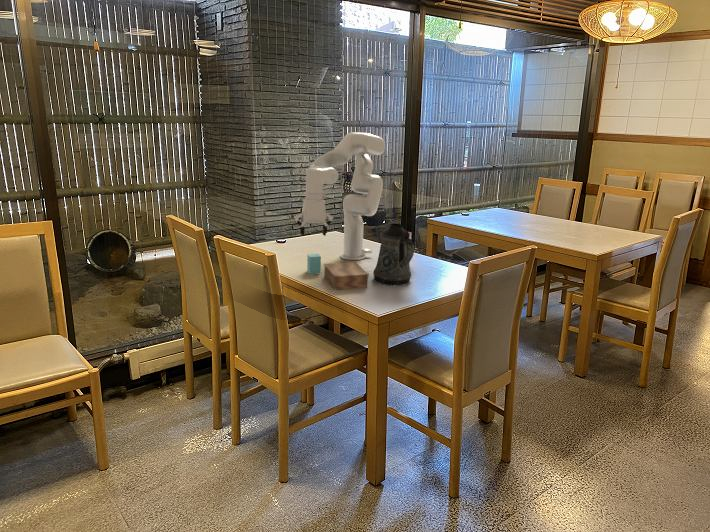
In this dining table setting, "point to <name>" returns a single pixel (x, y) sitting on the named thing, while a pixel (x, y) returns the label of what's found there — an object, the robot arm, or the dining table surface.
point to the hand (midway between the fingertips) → (313, 235)
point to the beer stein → (394, 256)
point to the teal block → (313, 263)
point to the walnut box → (346, 275)
